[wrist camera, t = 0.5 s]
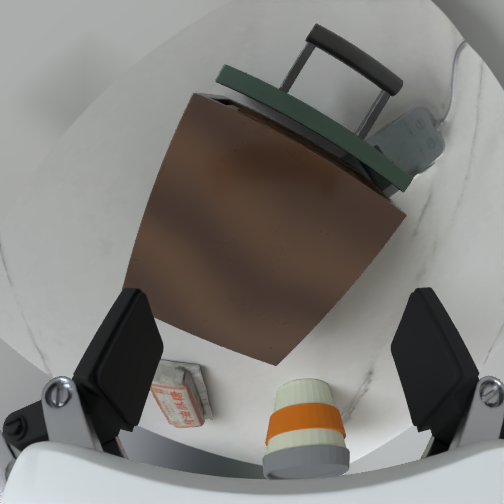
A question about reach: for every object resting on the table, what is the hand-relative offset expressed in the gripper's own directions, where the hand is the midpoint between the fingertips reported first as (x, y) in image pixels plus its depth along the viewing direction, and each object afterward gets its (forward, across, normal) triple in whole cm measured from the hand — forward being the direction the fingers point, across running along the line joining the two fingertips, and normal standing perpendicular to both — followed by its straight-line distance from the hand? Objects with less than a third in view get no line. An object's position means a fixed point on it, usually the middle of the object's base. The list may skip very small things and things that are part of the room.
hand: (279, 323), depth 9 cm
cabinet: (+18, +2, +3) cm, 18 cm away
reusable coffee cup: (+18, -5, +35) cm, 40 cm away
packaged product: (+18, +16, +36) cm, 43 cm away
